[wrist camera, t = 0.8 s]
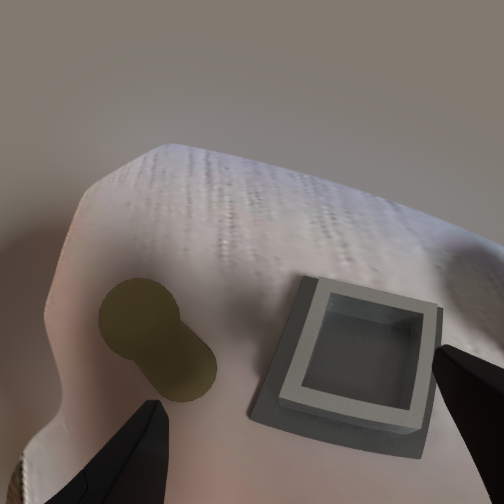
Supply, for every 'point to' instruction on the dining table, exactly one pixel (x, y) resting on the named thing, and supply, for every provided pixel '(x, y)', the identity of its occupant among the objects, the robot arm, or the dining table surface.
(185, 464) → the dining table surface
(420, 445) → the steel collar socket
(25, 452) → the dining table surface
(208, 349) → the olive knobbed peg
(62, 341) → the dining table surface
